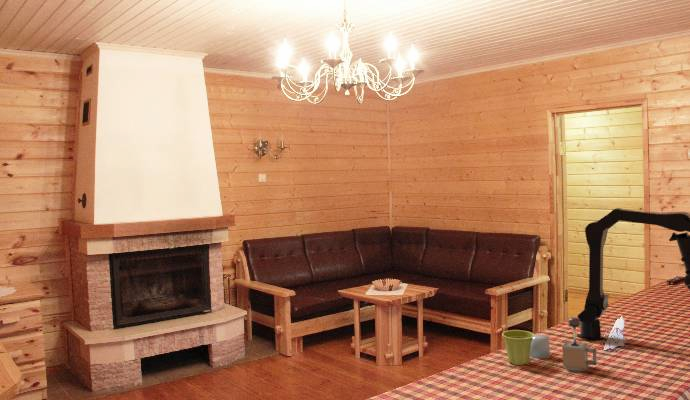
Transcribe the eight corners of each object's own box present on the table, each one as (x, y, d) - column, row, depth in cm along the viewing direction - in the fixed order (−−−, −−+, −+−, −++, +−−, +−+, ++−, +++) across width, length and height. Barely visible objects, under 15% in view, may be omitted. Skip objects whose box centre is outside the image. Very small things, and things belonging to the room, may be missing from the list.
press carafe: (565, 363, 177) (564, 340, 176) (598, 366, 172) (597, 343, 172) (561, 370, 171) (560, 347, 170) (595, 374, 166) (594, 350, 166)
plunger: (570, 348, 174) (568, 316, 174) (582, 349, 172) (581, 317, 172) (568, 351, 171) (567, 319, 171) (580, 352, 170) (579, 320, 169)
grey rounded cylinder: (525, 354, 187) (525, 335, 187) (542, 351, 189) (541, 333, 188) (536, 359, 181) (535, 340, 181) (553, 357, 183) (552, 338, 182)
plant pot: (535, 358, 183) (534, 330, 182) (534, 368, 174) (533, 339, 173) (504, 356, 186) (503, 329, 185) (502, 366, 177) (500, 337, 176)
